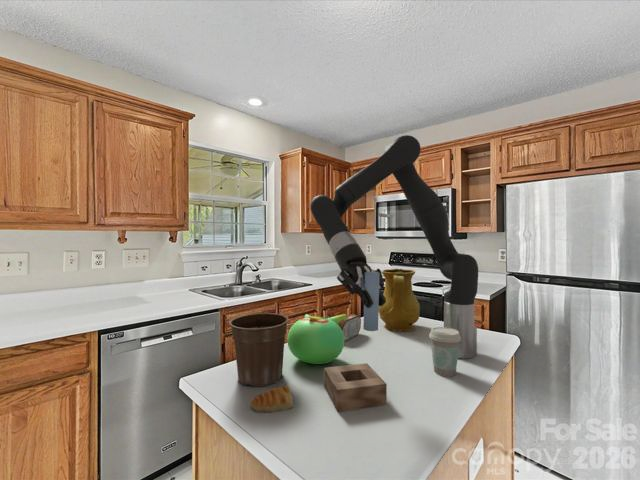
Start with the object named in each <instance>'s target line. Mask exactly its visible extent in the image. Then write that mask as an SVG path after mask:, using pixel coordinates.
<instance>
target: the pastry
mask: <svg viewBox="0 0 640 480" xmlns="http://www.w3.org/2000/svg"><path fill="white" fill-rule="evenodd" d="M293 405H294V401H293V396H292V392H291V389H290V387H289V386H287V385H284V386H283V387H272V388H269V389H268V390H266V391H265V392H261V393H260V394H259V395H257V396H254V397H253V399H252V401H251V405H250V407H251V409H253V411H255V412H257V413H263V412H264V413H265V412H266V413H274V412H280V411H279V410H281V411H285V410H289V409H291V408H292V407H293Z"/></svg>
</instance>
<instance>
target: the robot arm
mask: <svg viewBox="0 0 640 480" xmlns="http://www.w3.org/2000/svg"><path fill="white" fill-rule="evenodd" d="M421 150H422V148H421V143H420V141H419V140H418V139H417V138H416V137H414V136H412V135H410V134H409V135H407V134H406V135H401V136H398V137H397V138H395V139H394V140H392V141H391V142H390V143H388V144H387V145H386V146H385V148H384V151H383V154H381V155H380V156H379V157H378V158H377V159H376V160H374V161H373V162H372V163H370V164H368V165H367V166H365V167H364V168H362V169H360V170H359V171H357V172H356V173H354V174H353V175H351V177H349V178H347V179H345V180H344V182H342V183H341V184H339V185H338V186H337V187H336V188H335V189H334V196H333V198H330V197H329V196H328V195H325V194H318V195H317V196H314V197H313V199H312V200H311V201H310V205H309V206H310V207H309V209H310V211H311V215H312V216H313V218H314V221H315V222H316V224H317V225H318V226H320V229H321V231H322V234H323V236H324V239H325V241H326V242H327V245H328V246H329V249H330V252H331V253H332V256H333V257H334V259H335V261H336V264H337V266H338V267H339V269H340V270H341V271H340V272H339V274H338V275H337V276H336V279H337V280H338V281H339V283H341V285H342V286H343V287H344V288H345V289H346V290H347V291H348V292H349V293H350V294H351V295H354V294H356V295H357V296H359V298H360V300H361V302H362V303H363V306H364V305H365V306H366V307H367V308H370V307H371V306H372V305H373V301H372V299H371V297H370V295H369V293H368V292H367V291H365V272H378V273H380V277H379V306H383V305H384V304H385V303H386V298H385V297H384V295H383V294H384V292H382V289H383V288H385V281H384V277H383V274H382V272H381V271H382V270H381V269H380V268H376V269H372V267H371V266H370V265H369V264H368V263H367V256H366V255H365V253H364V251H363V250H362V247H360V244H359V243H358V241H357V239H356V238H355V236H353V234H352V233H351V232H350V230H349V228H348V226H347V225H346V223H345V222H344V221H343V219H342V217H343V216H344V215H345V213H346V212H347V211H348V210H349V208H350V207H351V206H352V205H353V204H355V203H356V202H357V201H359V200H360V199H362V198H363V197H364V196H365V195H366V194H369V192H370V191H371V190H373V189H374V188H375V187H376V186H378V184H380V183H381V182H383V181H384V180H385V179H387V178H388V177H389V176H391V175H393V177H394V178H395V179H396V182H397V183H398V184H399V186H400V188H401V191H402V192H403V194H404V196H405V198H406V200H407V202H408V205H409V207H410V208H411V211H412V212H413V215H414V217H415V218H416V220H417V222H418V225H419V226H420V228H421V230H422V232H423V234H424V236H425V238H426V240H427V242H428V243H429V246H430V247H431V250H432V252H433V256H434V257H435V261H436V263H437V266H438V269H439V271H440V273H441V275H442V276H443V277H445V278H446V279H448V280H450V289H449V290H447V291H446V292H444V294H443V327H446V328H452V329H455V330H457V331H458V332H459V334H460V336H461V341H460V343H459V351H458V359H471V358H473V357H474V356H477V354H478V353H477V351H478V349H477V348H478V347H477V346H478V345H477V343H478V341H477V340H478V339H477V338H478V334H477V333H478V332H477V331H478V327H477V326H476V325H475V298H476V297H477V294H478V284H479V265H478V261H477V260H476V259H475V258H474V256H472V255H470V254H465V253H459V252H458V251H457V249H456V248H455V246H454V244H453V241H452V240H451V237H450V232H449V231H450V230H449V216H448V213H447V211H446V208H445V206H444V204H443V202H442V200H441V199H440V197H439V195H438V193H436V191H435V190H434V189H432V188H431V187H430V186H429V185H428V184H427V183H426V182H425V181H424V179H422V177H421V176H420V174H419V173H418V171H417V169H416V167H415V165H414V163H415V162H416V161H417V160H418V159H419V157H420V154H421Z"/></svg>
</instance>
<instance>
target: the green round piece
mask: <svg viewBox="0 0 640 480" xmlns="http://www.w3.org/2000/svg"><path fill="white" fill-rule="evenodd" d="M347 316H348V314H347V313H346V314H345V313H344V314H339V315H334V316H331V317H328V318H327V317H323V316H315V315H309V314H307V313H306V314H305V315H304V317H303V318H300V319H299V320H297V321H295V322H294V323H293V324H292V326H291V327H290V329H289V331H288V334H287V337H286V338H287V346H288V349H289V351H290V352H291V354H292V355H293V356H294V357H295V358H296V359H298V360H299V361H302V362H303V363H307V364H311V365H321V364H327V363H330V362H332V361H335V360H336V359H337V358H338V357H339V356H340V355H341V353H342V351H343V350H344V346H345V341H344V334H343V332H342V330H341V328H340V327H339V326H338V323H339V322H340V321H342V320H343V319H344V318H346V317H347Z"/></svg>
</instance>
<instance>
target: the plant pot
mask: <svg viewBox="0 0 640 480" xmlns="http://www.w3.org/2000/svg"><path fill="white" fill-rule="evenodd" d="M288 323H289V317H287V316H286V315H285V314H279V313H272V312H262V313H261V312H260V313H251V314H245V315H241V316H237V317H234V318H232V319H231V320H230V321H229V322H228V324H229V326H230V328H231V329H230V330H231V335H232V339H233V343H234V352H235V360H236V361H235V362H236V369H237V380H238V382H239V383H240V384H241V385H245V386H248V385H251V386H252V387H264V386H269V385H272V384H274V383H277V382H278V381H279V380H280V378H282V377H283V365H284V352H285V351H284V350H285V341H286V340H285V339H286V335H287V327H288Z"/></svg>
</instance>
